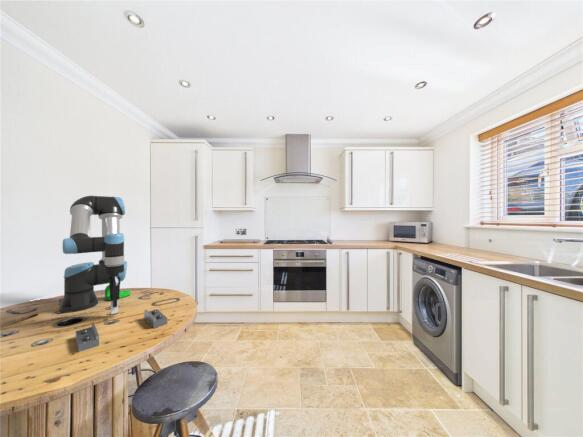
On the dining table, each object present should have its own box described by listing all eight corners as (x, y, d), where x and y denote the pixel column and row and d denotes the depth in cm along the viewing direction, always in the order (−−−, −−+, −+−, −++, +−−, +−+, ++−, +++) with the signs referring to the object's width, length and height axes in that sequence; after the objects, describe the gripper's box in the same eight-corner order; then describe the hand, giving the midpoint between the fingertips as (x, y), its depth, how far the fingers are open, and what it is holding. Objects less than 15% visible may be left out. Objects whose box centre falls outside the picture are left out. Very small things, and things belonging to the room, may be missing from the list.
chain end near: (75, 338, 88) (75, 328, 88) (94, 333, 92) (93, 323, 92) (78, 353, 79) (78, 341, 79) (99, 346, 83) (99, 335, 83)
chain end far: (144, 318, 105) (144, 310, 105) (157, 315, 110) (157, 306, 110) (153, 328, 96) (153, 319, 96) (167, 324, 100) (167, 315, 100)
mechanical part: (111, 300, 129) (111, 286, 129) (105, 299, 132) (105, 285, 132) (132, 294, 140) (132, 281, 140) (126, 292, 143) (126, 280, 143)
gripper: (102, 264, 110) (102, 311, 110) (106, 268, 101) (106, 319, 101) (121, 262, 116) (121, 307, 115) (126, 265, 107) (127, 314, 107)
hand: (114, 312), depth 108 cm, fingers closed
